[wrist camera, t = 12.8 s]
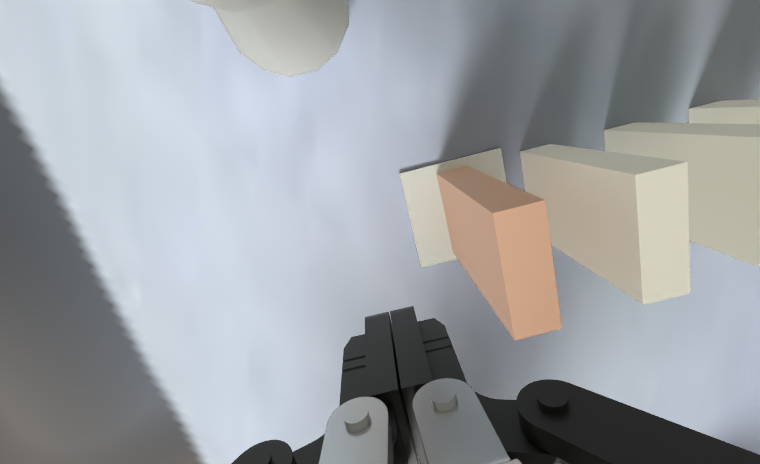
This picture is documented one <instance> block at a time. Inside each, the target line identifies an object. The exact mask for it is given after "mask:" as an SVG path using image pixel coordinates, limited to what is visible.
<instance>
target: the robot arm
mask: <svg viewBox="0 0 760 464" xmlns="http://www.w3.org/2000/svg"><path fill="white" fill-rule="evenodd" d="M390 314H391V319H390V315H389V312H386V313H381V314H377V315H373V316H369V317H365V334H363V335H359V336H355V337H351V339H350V340H349V342H348V343H347V345H346V346H345V348H344V354H343V367H342V371H343V373H342V380H341V393H340V406H339V407H338V408H337V409H336V410H335V411H334V412H333V413H332V414H331V416H330V418H329V420H328V422H327V426H326V431H325V434H324V435H323V436H321V437H320V438H319V439H317V440H315V441H314V442H312V443H310V444H308V445H306V446H304V447H302V448H300V449H298V450H296V451H294V452H292V450H291V448H290V446H289V445H288V444H287V443H285V442H283V441H281V440H269V441H264V442H261V443H259V444H256V445H254V446H253V447H251V448H249V449H248V450H246V451H245V452H244V453H242V454H241V455H240V456H239V457H238V458H237V459H236V460H235V461H234V462H233V463H232V464H418V459H417V452H416V448H417V451H418V455H419V459H420V463H421V464H760V455H758V454H755V453H753V452H750V451H748V450H745V449H742V448H740V447H737V446H734V445H732V444H729V443H726V442H724V441H721V440H718V439H716V438H713V437H710V436H708V435H705V434H703V433H700V432H697V431H695V430H692V429H689V428H687V427H684V426H681V425H679V424H676V423H673V422H671V421H668V420H665V419H663V418H660V417H658V416H655V415H652V414H650V413H647V412H644V411H642V410H639V409H636V408H634V407H631V406H628V405H626V404H623V403H621V402H618V401H615V400H613V399H610V398H607V397H605V396H602V395H599V394H597V393H594V392H591V391H589V390H586V389H583V388H581V387H578V386H576V385H573V384H570V383H567V382H564V381H559V380H539V381H535V382H532V383H530V384H528V385H526V386H525V387H524V388H523V389H521V391H520V392H519V394H518V396H517V400H499V399H492V398H488V397H485V396H482V395H480V394H478V393H477V392H475V391H474V390H473V389H472V388H471V387H470V386H469V385H468V384H467V382H466V379H465V377H464V374H463V372H462V369H461V367H460V364H459V361H458V359H457V356H456V354H455V351H454V349H453V347H452V344H451V341H450V338H449V336H448V333H447V331H446V328H445V326H444V325H443V324H442V323H440V322H439V321H437V320H436V319H435V318H432V319H428V320H424V321H419V322H417V319H416V315H415V311H414V308H413V306H411V307H407V308H403V309H398V310H394V311H390ZM391 321H392V323H391ZM415 444H416V446H415Z"/></svg>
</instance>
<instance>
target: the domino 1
mask: <svg viewBox="0 0 760 464" xmlns="http://www.w3.org/2000/svg"><path fill="white" fill-rule="evenodd" d="M437 179H438V183H439V188H440V193H441V198H442V202H443V207H444V212H445V217H446V222H447V226H448V231H449V236H450V241H451V245H452V250H453V253H454V255H455V256H456V258H457V259H458V260H459V262H460V263H461V265H462V266H463V268H464V269H465V270H466V272H467V273H468V275H469V276H470V277H471V279H472V280H473V282H474V283H475V285H476V286H477V287H478V289H479V290H480V292H481V293H482V295H483V296H484V297H485V299H486V300H487V302H488V303H489V305H490V306H491V307H492V309H493V310H494V312H495V313H496V315H497V316H498V317H499V319H500V320H501V322H502V323H503V325H504V326H505V327H506V329H507V330H508V332H509V333H510V335H511V336H512V337H513V339H514V340H519V339H523V338H527V337H531V336H535V335H539V334H543V333H547V332H551V331H555V330H559V329H562V323H561V316H560V308H559V301H558V293H557V286H556V278H555V270H554V263H553V255H552V248H551V240H550V232H549V225H548V217H547V210H546V202H545V200H544V199H542V198H540V197H537V196H535V195H533V194H530V193H528V192H526V191H523V190H521V189H519V188H517V187H514V186H512V185H510V184H507V183H505V182H503V181H501V180H498V179H496V178H494V177H491V176H489V175H487V174H485V173H482V172H480V171H478V170H475V169H473V168H471V167H469V166H464V167H460V168H456V169H452V170H448V171H444V172H440V173H437Z"/></svg>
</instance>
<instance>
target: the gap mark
mask: <svg viewBox="0 0 760 464" xmlns="http://www.w3.org/2000/svg"><path fill="white" fill-rule="evenodd" d="M464 166H469V167H471V168H473V169H475V170H478V171H480V172H482V173H485V174H487V175H489V176H491V177H494V178H496V179H498V180H501V181H503V182H505V183H506V177H505V170H504V164H503V157H502V151H501V148H497V149H493V150H489V151H485V152H481V153H477V154H473V155H469V156H466V157H462V158H458V159H454V160H450V161H446V162H442V163H438V164H434V165H430V166H426V167H422V168H418V169H414V170H410V171H406V172H403V173H399V175H400V179H401V183H402V188H403V192H404V196H405V201H406V205H407V209H408V214H409V218H410V222H411V226H412V231H413V235H414V239H415V244H416V248H417V252H418V257H419V261H420V265H421V268H423V267H427V266H431V265H435V264H439V263H443V262H447V261H451V260H455V259H457V258H456V256H455V255H454V253H453V250H452V245H451V241H450V236H449V231H448V226H447V222H446V217H445V212H444V207H443V202H442V198H441V193H440V188H439V183H438V179H437V173H440V172H444V171H448V170H452V169H456V168H460V167H464Z"/></svg>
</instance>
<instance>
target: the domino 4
mask: <svg viewBox="0 0 760 464" xmlns="http://www.w3.org/2000/svg"><path fill="white" fill-rule="evenodd" d="M689 123H711V124H760V99H747V100H727V101H717V102H713V103H709V104H705V105H701V106H697V107H693V108H689Z"/></svg>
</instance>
